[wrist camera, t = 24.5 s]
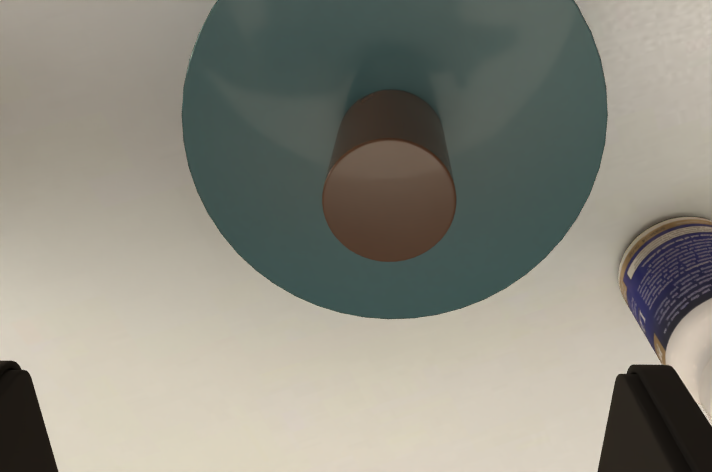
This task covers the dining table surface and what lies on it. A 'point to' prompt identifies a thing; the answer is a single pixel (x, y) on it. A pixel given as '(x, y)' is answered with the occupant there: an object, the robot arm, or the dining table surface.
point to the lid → (394, 143)
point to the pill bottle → (674, 298)
